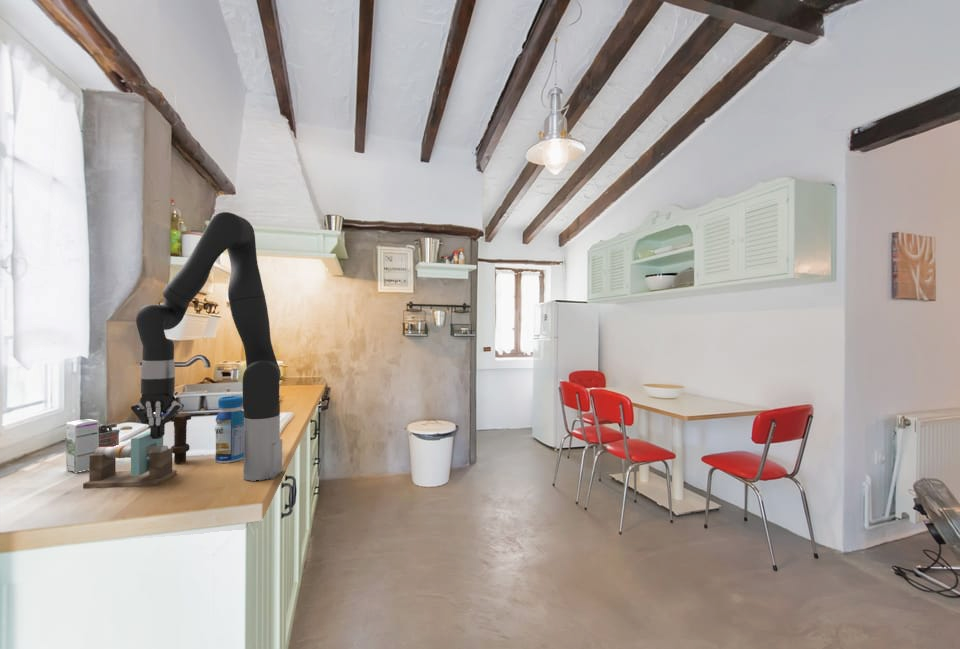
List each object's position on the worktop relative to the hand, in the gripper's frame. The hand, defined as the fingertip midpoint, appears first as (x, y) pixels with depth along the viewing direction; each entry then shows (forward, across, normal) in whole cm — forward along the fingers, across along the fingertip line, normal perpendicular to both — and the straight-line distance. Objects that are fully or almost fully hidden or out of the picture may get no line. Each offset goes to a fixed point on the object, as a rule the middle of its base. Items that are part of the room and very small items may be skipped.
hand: (157, 438), depth 117 cm
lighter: (+12, +32, -26) cm, 43 cm away
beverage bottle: (+12, -12, -17) cm, 24 cm away
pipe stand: (+12, +6, 0) cm, 13 cm away
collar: (+9, +2, 0) cm, 9 cm away
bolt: (+12, +2, -15) cm, 19 cm away
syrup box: (+12, +27, -11) cm, 32 cm away
